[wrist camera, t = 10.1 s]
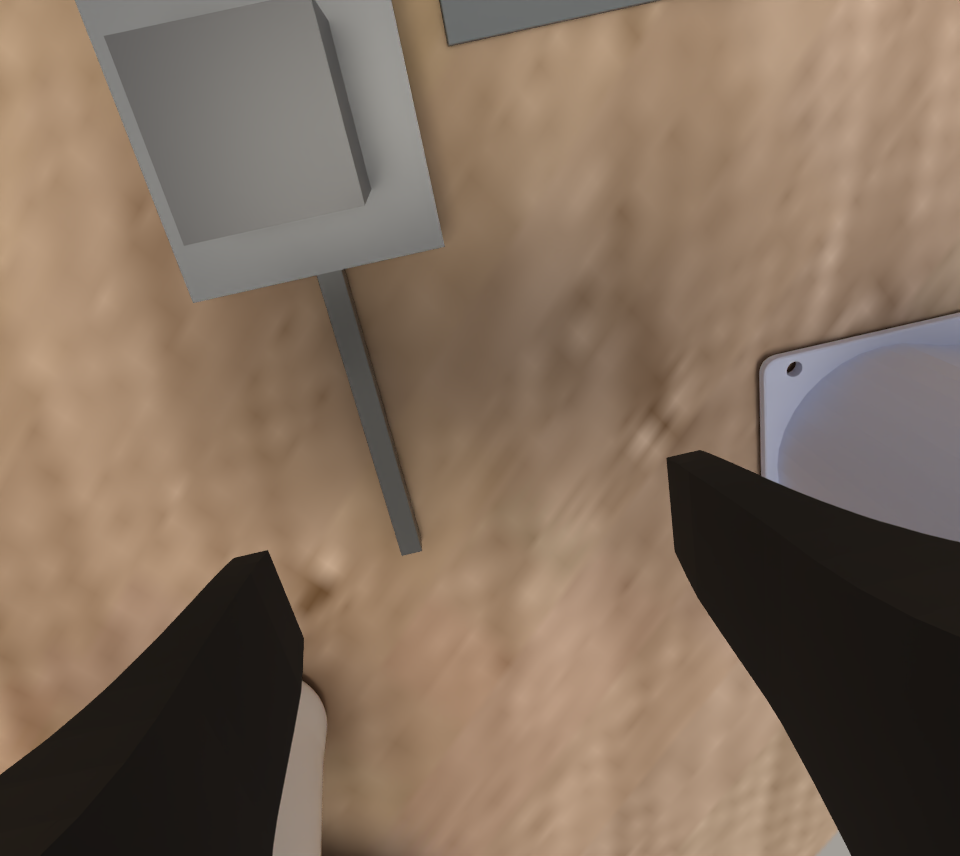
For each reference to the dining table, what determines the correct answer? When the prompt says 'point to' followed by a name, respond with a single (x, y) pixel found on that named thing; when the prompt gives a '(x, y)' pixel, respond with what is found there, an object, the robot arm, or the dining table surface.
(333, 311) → the power strip
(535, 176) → the dining table surface
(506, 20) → the felt mat
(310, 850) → the drinking glass
